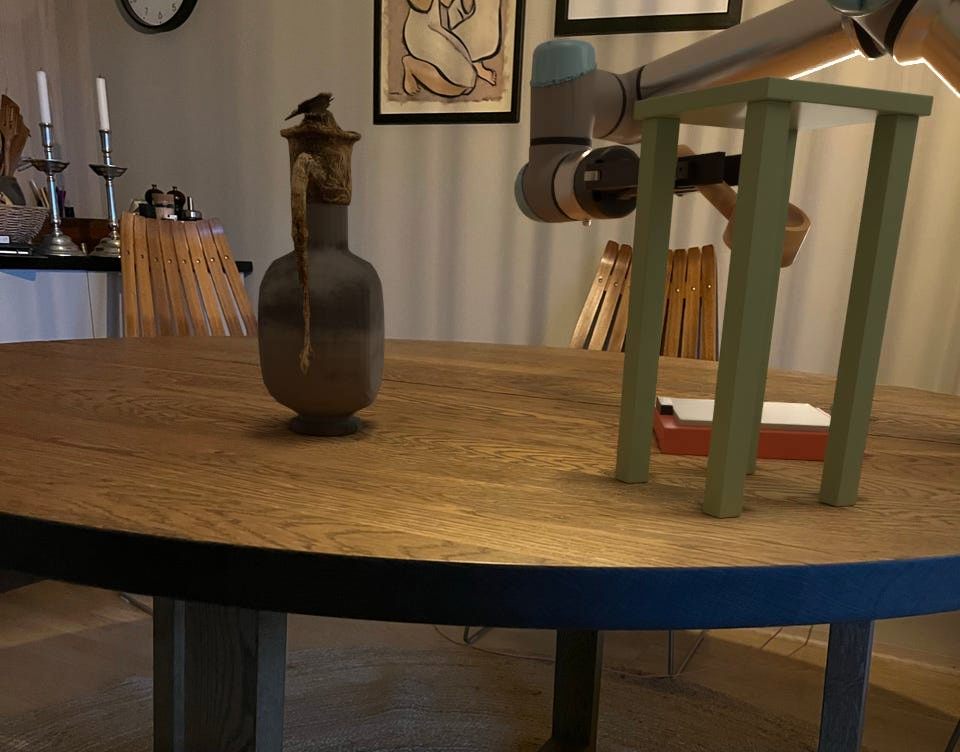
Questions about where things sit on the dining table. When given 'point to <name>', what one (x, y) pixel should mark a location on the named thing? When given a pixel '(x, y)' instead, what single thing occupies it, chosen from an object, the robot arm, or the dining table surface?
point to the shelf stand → (764, 269)
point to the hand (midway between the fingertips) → (733, 168)
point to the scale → (780, 436)
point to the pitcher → (321, 289)
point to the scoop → (726, 205)
